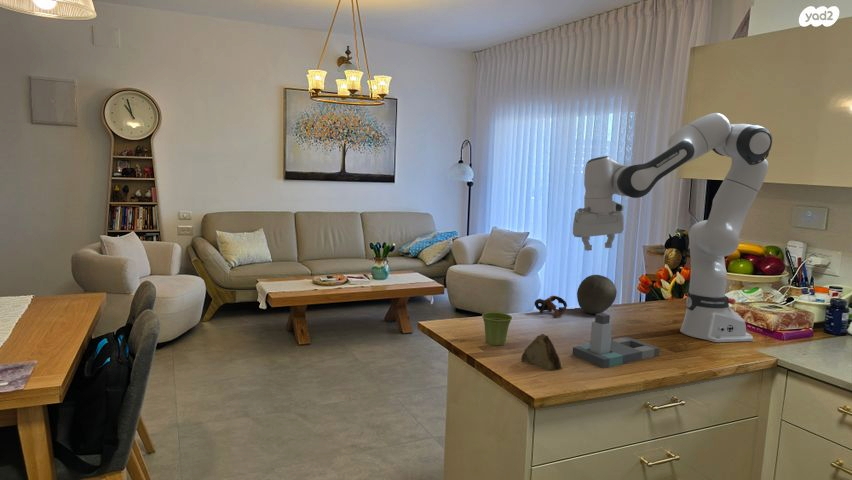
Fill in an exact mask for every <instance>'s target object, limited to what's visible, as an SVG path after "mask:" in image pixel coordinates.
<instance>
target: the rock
mask: <svg viewBox="0 0 852 480" xmlns="http://www.w3.org/2000/svg"><path fill="white" fill-rule="evenodd" d="M520 359H521V362H523V363H526V364H529V365H531V366H535V367H537V368H541V369H545V370H548V371H549V370H550V371H556V370H557V371H559V370H562V369H563V367H562V363H561V360H560V359H561V358H560V357H559V355H558V353H557V351H556V348H555V345H554V344H553V342H552V340H551V339H550V337H549V335H546V334H543V333H541V334H539V335H537V336H536V337H535V338H534V339H533V341H531V343H530V344H529V345H528V346H527V347H526V348H525V349H524V352H523V353H522V354H521V358H520Z"/></svg>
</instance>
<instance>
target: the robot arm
mask: <svg viewBox="0 0 852 480" xmlns="http://www.w3.org/2000/svg"><path fill="white" fill-rule="evenodd" d="M771 133H772V132H770V130H769V129H768V128H766V127H764V126H761V125H758V124H757V125H755V124H754V125H753V124H748V123H731V122H730V121H729V119H728V117H726V115H724V114H722V113H719V112H713V113H708V114H706V115H703V116H701V117H698V118H696V119H695V120H693V121H691V122H689V123H687V124H686V125H684V126H682V127H681V128H679V129H678V130H676V131H675V132H674V133H673V134H672V135H671V136H669V138H668V143H667V149H666V150H665V151H663V152H661V153H660V154H658V155H657V156H655V157H654V158H652V159H650V160H649V161H648V162H645V163H641V164H640V163H639V164H632V165H625V164H622V163H621V162H618V161H616V160H614V159H613V158H612V157H610V156H608V155H605V156H599V157H595V158H591V159H589V160H588V161H586V164H585V167H584V178H583V181H584V184H583V185H584V189H585V194H584V197H583V199H584V202H583V205H584V206H583V207H584V208H582V207H580V208H577V210H576V211H575V213H574V218H573V225H572V235H573V236H574V238H581V242H582V243H583V245H584V251H592V250H593V245H592V244H590V237H599V236H606V237H607V240H606V242H604V248H605V249H611V248H613V242H614V240H615V237H616V234H622V233H623V231H624V227H625V226H624V225H625V222H624V221H625V220H624V214H623V212H624V210H625V209H624V207H625V206H624V204H621V203H618V202H616V201H615V200H614V199H613V197H614V195H617V196H622V197H628V198H629V197H630V198H633V199H636V198H637V199H639V198H642V197H645V196H646V195H647V194H649V193H650V192H651V190H652V189H653V188H654V186H655V185H656V184H657V182H658V181H660V180H661V179H662V178H663V177H665V176H667V175H668V174H670V173H672V172H673V171H674V170H676V169H677V168H679V167H681V166H682V165H684V164H687V163H689V162H692V161H695V160H696V159H698V158H700V157H702V156H704V155H705V154H707V153H709V152H711V151H713V152H714V153H716V154H718V155H719V156H722V157H727V158H731V165H730V169H729V170H728V172H727V173H726V175H725V176H724V179H723V181H722V183H721V184H720V186H719V188H718V190H717V192H716V193H715V195H714V197H713V199H712V204H711V210H710V212H709V216H708V218H707V219H705V220H700V221H698V222H695V223H694V224H693V225H692V226H691V227H690V229H689V231H688V238H689V256H690V275H689V276H690V277H689V286H688V287H689V289H688V292H687V296H686V302H685V303H686V304H685V305H686V306H685V307H686V310H685V311H686V312H685V315H684V319H683V322H682V325H681V326H680V329H679V331H680V333H682V334H683V335H686V336H689V337H692V338H697V339H700V340H701V339H702V340H706V341H710V342H713V343H726V342H727V343H729V342H730V343H731V342H732V343H733V342H735V343H736V342H752V341H754V337H753V335H752V334H751V333H749V332H747V326H746V321H745V319H744V318H742V316H740V315H739V314H738V313H737V312H736V311H735V310H733V309H732V308H731V307H730V305H732V306H734V305H735V304H736V303H737V300H736V299H735V298H733V297H728V296H727V295H726V287H727V278H728V272H727V269H726V262H725V257H727V256H730V255H733V254H734V253H735V252H736V251H737V249H738V247H739V245H740V235H741V232H742V229H743V225H744V222H745V219H746V216H747V215H748V212H749V210H750V208H751V206H752V205H753V203H754V201H755V199H756V197H757V195H758V193H759V192H760V190H761V189H762V186H763V184H764V182H765V179H766V176H767V173H768V169H769V162H768V160H767V158H768V157H769V155H770V151H771V149H772V145H773V135H772V134H771Z"/></svg>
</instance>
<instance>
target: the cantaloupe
mask: <svg viewBox="0 0 852 480" xmlns="http://www.w3.org/2000/svg"><path fill="white" fill-rule="evenodd" d="M617 294H618V293H617V288H616V285H615V283H614V282H613V280H611V279H610V278H608V277H607V276H604V275H601V274H592V275H588V276H586V277H585V278H584V279H583V280H582V281H581V282H580V284H579V286H578V288H577V292H576V297H577V303H578V306H579V308H580V309H582V310H583V311H584V312H586V313H588V314H590V315H596V314H599V313H604V312H605V311H607V310H608V309H609V308H610V307H611V306H612V305H613V304H614V303H615V300H616V297H617Z"/></svg>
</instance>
